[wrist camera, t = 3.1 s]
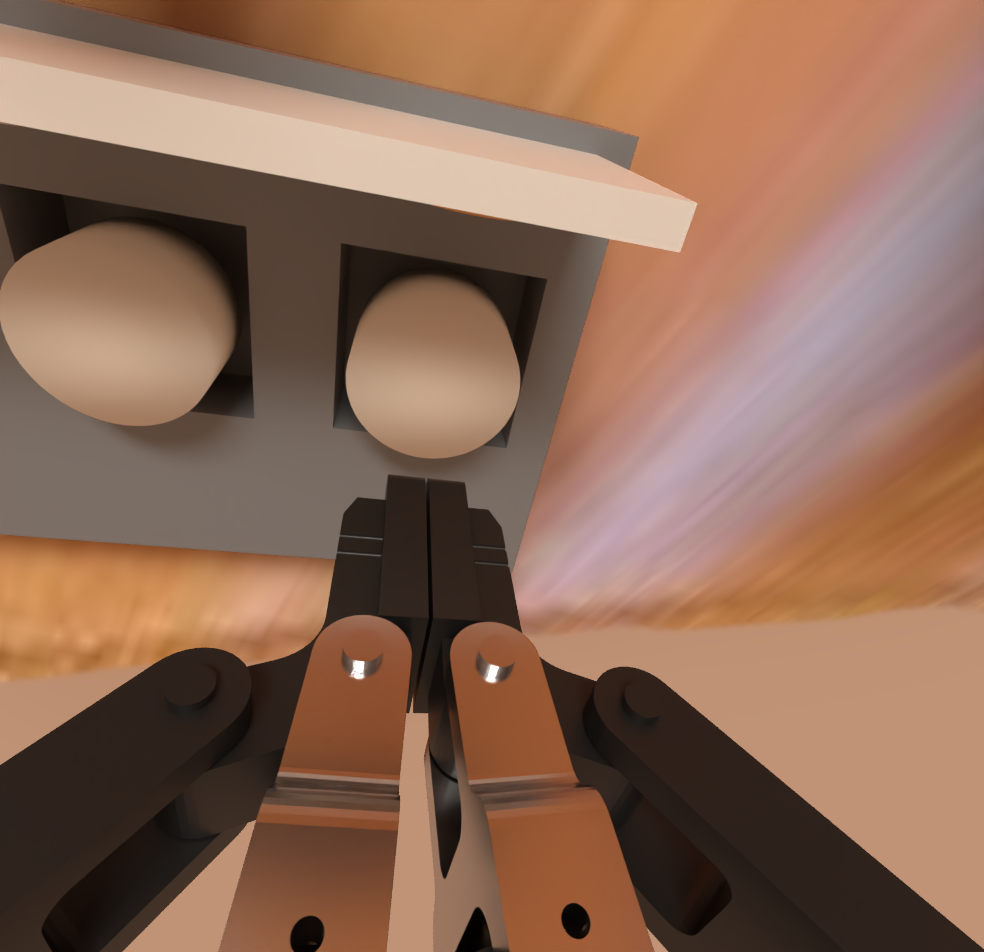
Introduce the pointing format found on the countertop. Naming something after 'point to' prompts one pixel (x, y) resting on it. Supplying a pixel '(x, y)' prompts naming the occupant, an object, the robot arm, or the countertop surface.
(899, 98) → the countertop surface
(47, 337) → the button middle
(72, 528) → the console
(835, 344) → the countertop surface
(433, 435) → the button
